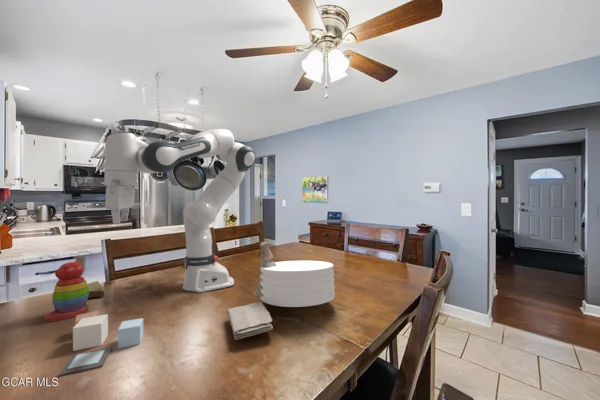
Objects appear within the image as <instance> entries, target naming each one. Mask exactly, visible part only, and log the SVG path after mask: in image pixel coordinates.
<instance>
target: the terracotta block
mask: <svg viewBox="0 0 600 400" xmlns="http://www.w3.org/2000/svg"><path fill="white" fill-rule="evenodd" d="M94 316H99V310H94V311H90V312H85V313H84V314H80V315H76V317H75V321H74V323H75V325H76V324H77V323H78V322H79V321H80V320H81V319H82V318H87V317H94ZM75 325H74V326H75Z"/></svg>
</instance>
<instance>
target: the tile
mask: <svg viewBox="0 0 600 400" xmlns="http://www.w3.org/2000/svg"><path fill="white" fill-rule="evenodd" d="M112 348H113V347H112V346H110V347H106V348H105V347H104V348H99V349H95V350H90V351H85V352H80V353H75V354H72V356H71V357H70V358H69V359H68V361H67V362H66V364H65V365H64V366H63V367H62V369H61V370H60V372H59V373H58V375H57V377H62V376H66V375H67V376H68V375H71V374H76V373H81V372H86V371H89V370H95V369H99V368H103V366H104V364H105V362H106V361H107V358H108V357H109V355H110V353H111V351H112Z"/></svg>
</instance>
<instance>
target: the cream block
mask: <svg viewBox="0 0 600 400" xmlns="http://www.w3.org/2000/svg"><path fill="white" fill-rule="evenodd" d="M108 315H109V314H107V313H106V314H102V315H98V316H94V317H87V318H82V319H81V320H80V321H79V322H78V323H77V324H76V325H74V326H73V327H72V351H79V350H80V351H81V350H85V349H89V348H96V347H100V346H102V345H103V344H104V342H105V340H106V339H107V337H108V335H109V316H108Z"/></svg>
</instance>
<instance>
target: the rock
mask: <svg viewBox="0 0 600 400" xmlns="http://www.w3.org/2000/svg"><path fill="white" fill-rule="evenodd" d="M87 285H88V288H89V296H88V299H90V298H96V297H104V296H105V292H104V289H103V286H102V285H101V284H100V282H99V281H93V282H90V283H89V282H88V283H87Z"/></svg>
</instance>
